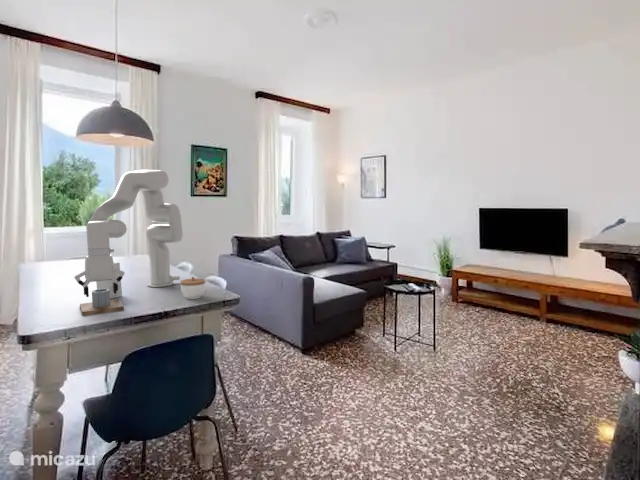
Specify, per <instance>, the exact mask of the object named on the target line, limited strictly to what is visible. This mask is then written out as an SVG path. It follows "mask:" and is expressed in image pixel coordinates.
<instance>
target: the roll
mask: <svg viewBox="0 0 640 480" xmlns="http://www.w3.org/2000/svg"><path fill="white" fill-rule="evenodd" d="M110 300H111V299H110V290H109V289H97V288H96V289H94V290H91V302H92V306H93V307H105V306H108V305H110Z"/></svg>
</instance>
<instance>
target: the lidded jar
mask: <svg viewBox="0 0 640 480" xmlns="http://www.w3.org/2000/svg"><path fill="white" fill-rule="evenodd" d="M205 289H206V279H204V278H200V277H199V278H195V276H192V277H191V278H187V279H186V278H185V279H182V280H180V290H181V293H182V295H183V296H184V297H186V299H187V300H196V299H200V298H201V297H202V295H203V294H204V293H205Z"/></svg>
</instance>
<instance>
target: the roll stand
mask: <svg viewBox="0 0 640 480" xmlns="http://www.w3.org/2000/svg"><path fill="white" fill-rule="evenodd" d="M124 308H125V307H124V305H123V303H122V302H121V300H120V299H119V298H116V299H115V298H114V299H110V305H108V306H105V307H93V306H92V301H91V302H85V303H79V309H80V312H81V316H82V317H83V316H84V317H85V316H92V315H97V314H107V313H111V312H112V313H113V312H120V311H124V310H125V309H124Z"/></svg>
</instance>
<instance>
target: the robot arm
mask: <svg viewBox="0 0 640 480" xmlns="http://www.w3.org/2000/svg"><path fill="white" fill-rule="evenodd" d="M168 185H169V175H168V174H167V172H166V171H165V170H161V169H150V170H149V169H140V170H134V171H128V172H125V173H124V174H122V176H121V177H120V180H119V182H118V184H117V186H116V188H115V191H114V193H113V195H112V197H110V198H109V199H107V200H106V201H105V202H103V203H102V204H101V205H99V206H98V207H97V208H96V209H95V210H94V212H93V213H92V215H91V217H90V220H89V221H88V222H87V223H86V241H87V245H86V246H87V255H86V256H85V260H84V271H81V272H80V273H79V274H76V275H75V276H73V277H74V279H75V281H76V282H77V283H78V284H79V285H80V286H82V287H83V295H84V296H86V298H89V297H90V295H89V292H90V291H89V286H88V285H89V284H90V283H93V282H96V281H105V280H112V281H114V283H113V292H114V293H115V294H116V291H118V283H119V281H120V280H121V281H122V280H123V278H124V276H125V271H124V270H121V269H120V270H118V269H115V268H114V257H113V255H112V254H111V253H114V252H115V249H114V248H111V247H110V239H118V238H122V237H124V236H125V234H126V233H127V230H128V227H127V224H125V222H124V221H122V220H119V219H109V218H111V217H112V216H113V215H116V214H118V213H121V212H124V211H126V210H129V209H130V208H132V206H133V205H134V203H135V201H136V198H137V196H138V194H139V192H141V193H142V195H143V197H144V203H145V210H146V216H147V219H148V220H149V222H153V223H156V224H151V225H149V226H147V228H146V240H147V242H148V243H147V244H148V251H149V252H148V254H149V279H150V280H149V281H148V282H147V284H146V287H149V288H163V287H164V288H165V287H169V286H173V285H174V281H177V280H179V281H181V280H180V279H181V278H180V275H178V276H177V275H171V269H170V268H171V267H170V266H171V265H170V262H171V261H170V259H171V258H170V249H169V247H168V245H167V244H176V243H177V244H178V243H180V242H181V241H182V238H183V236H184V235H183V233H184V232H183V224H182V215H181V211H180V208H179V206H178V205H177V204H175V203H169V202H168V203H167V202H165V201H164V197H163V192H162V190H161V189H164V188H166V187H167V186H168ZM160 223H161V224H160ZM162 223H163V224H162ZM166 223H167V224H166ZM115 272H116V273H119V274H120V275H119V277H118V278H117V279H115ZM82 277H84V278H85V280H84V281H83V280H81V278H82Z"/></svg>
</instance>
